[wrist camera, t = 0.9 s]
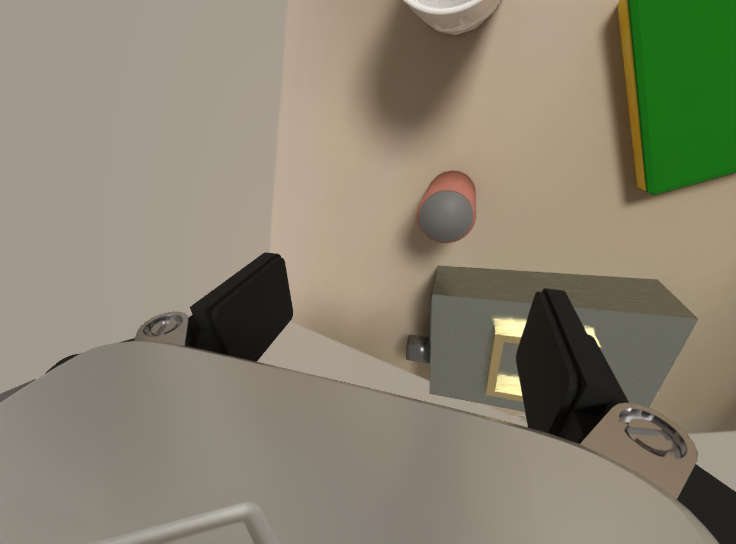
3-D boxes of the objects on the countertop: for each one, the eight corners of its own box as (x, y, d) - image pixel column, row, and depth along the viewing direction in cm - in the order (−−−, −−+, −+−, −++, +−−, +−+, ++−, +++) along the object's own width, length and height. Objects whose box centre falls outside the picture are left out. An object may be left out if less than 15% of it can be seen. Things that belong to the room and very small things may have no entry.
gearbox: (657, 279, 28) (708, 328, 22) (611, 384, 34) (640, 444, 28) (411, 264, 34) (398, 298, 28) (412, 354, 41) (402, 397, 35)
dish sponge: (635, 189, 25) (649, 197, 23) (614, 1, 21) (629, -10, 19) (755, 154, 22) (783, 159, 20) (763, -78, 17) (802, -101, 15)
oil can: (477, 170, 28) (478, 188, 22) (473, 217, 30) (473, 245, 24) (427, 171, 29) (416, 188, 23) (427, 216, 31) (416, 243, 25)
